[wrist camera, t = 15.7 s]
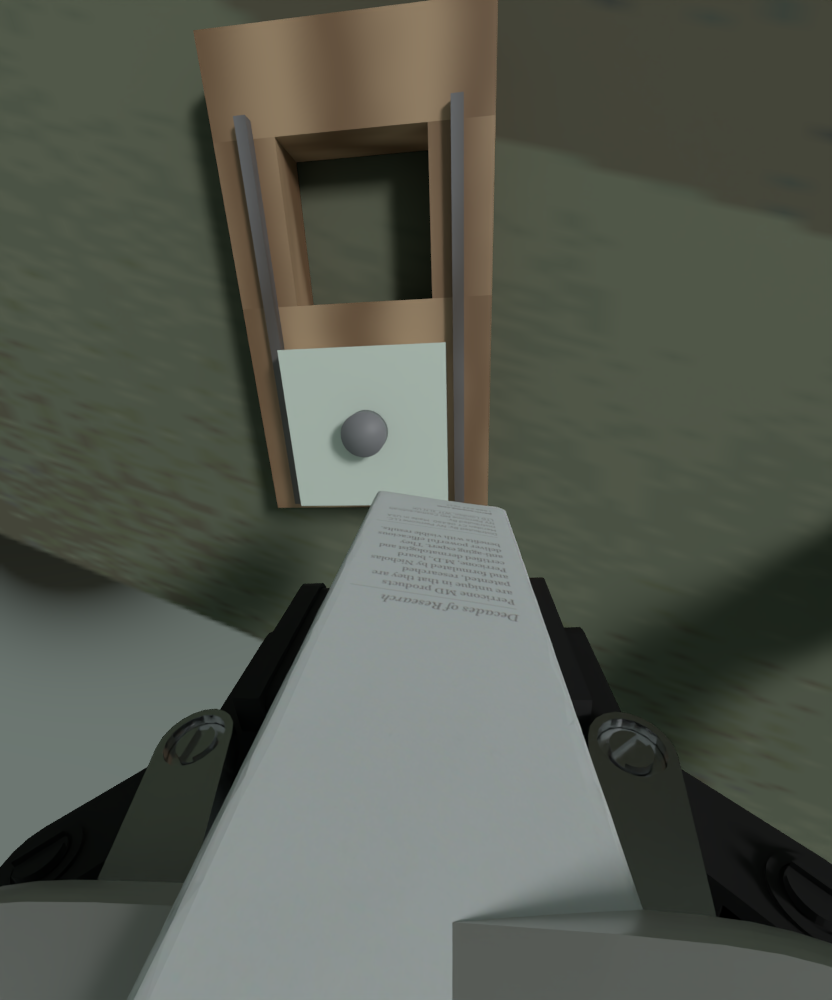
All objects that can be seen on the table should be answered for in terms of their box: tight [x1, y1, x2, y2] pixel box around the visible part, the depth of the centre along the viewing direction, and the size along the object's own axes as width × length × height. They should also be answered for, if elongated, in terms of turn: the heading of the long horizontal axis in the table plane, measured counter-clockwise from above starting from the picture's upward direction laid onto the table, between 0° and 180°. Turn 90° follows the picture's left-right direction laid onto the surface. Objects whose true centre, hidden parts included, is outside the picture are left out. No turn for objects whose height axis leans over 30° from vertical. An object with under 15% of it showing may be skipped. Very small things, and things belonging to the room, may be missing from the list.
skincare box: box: [127, 491, 643, 1000], centre depth 8 cm, size 6×4×12 cm
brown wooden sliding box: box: [193, 0, 498, 508], centre depth 24 cm, size 14×24×4 cm, turn 2°
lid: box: [277, 342, 448, 506], centre depth 23 cm, size 9×9×3 cm
